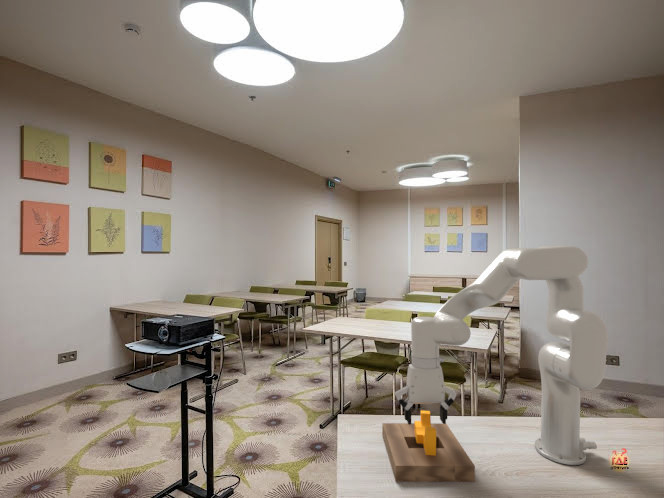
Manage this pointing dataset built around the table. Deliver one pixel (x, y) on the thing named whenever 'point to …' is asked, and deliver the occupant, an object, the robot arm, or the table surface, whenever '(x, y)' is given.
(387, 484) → the table surface
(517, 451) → the table surface
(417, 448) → the cutout shelf
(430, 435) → the orange curved block
